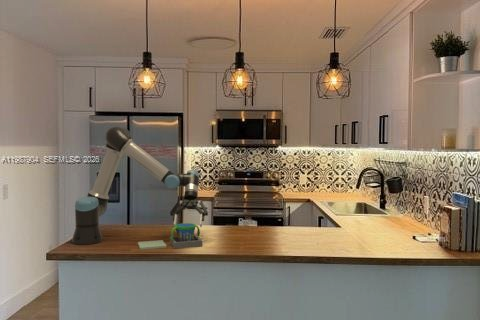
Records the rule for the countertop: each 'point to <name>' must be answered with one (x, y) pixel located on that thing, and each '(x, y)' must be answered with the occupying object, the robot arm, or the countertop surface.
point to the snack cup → (185, 232)
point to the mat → (151, 244)
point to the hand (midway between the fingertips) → (187, 225)
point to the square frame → (185, 242)
